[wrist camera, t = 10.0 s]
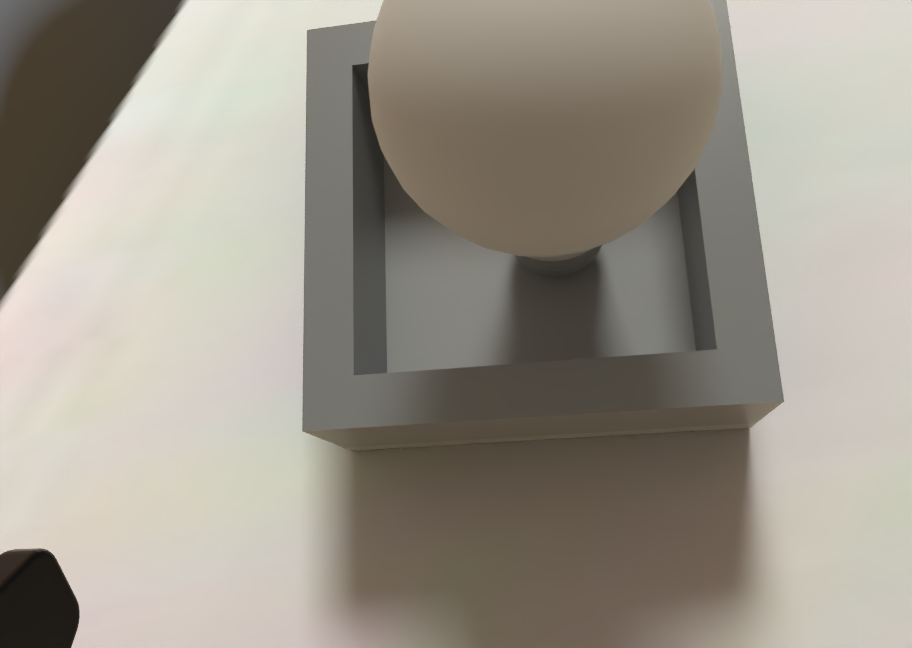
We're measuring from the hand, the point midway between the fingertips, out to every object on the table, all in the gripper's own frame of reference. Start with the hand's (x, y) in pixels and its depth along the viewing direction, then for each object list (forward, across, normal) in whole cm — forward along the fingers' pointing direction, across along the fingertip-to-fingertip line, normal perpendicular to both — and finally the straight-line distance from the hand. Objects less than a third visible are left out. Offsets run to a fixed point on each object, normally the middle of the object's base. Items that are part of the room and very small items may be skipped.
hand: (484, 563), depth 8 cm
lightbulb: (+15, -1, +3) cm, 15 cm away
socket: (+15, 0, +4) cm, 16 cm away
